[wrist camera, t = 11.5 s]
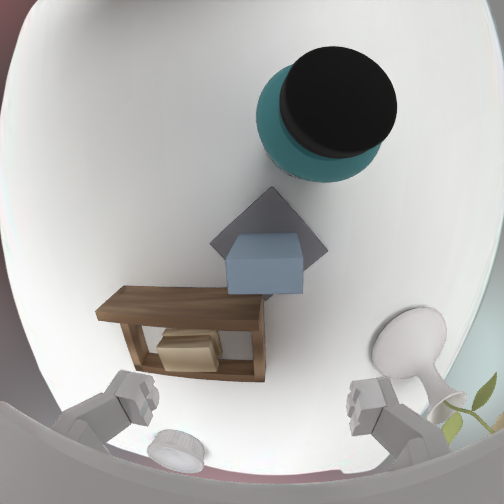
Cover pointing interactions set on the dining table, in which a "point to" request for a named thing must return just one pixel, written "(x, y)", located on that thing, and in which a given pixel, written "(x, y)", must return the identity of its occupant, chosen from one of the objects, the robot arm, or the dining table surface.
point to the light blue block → (265, 264)
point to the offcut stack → (190, 350)
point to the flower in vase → (427, 367)
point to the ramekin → (177, 451)
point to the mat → (271, 228)
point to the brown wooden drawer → (189, 324)
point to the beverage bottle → (326, 114)
